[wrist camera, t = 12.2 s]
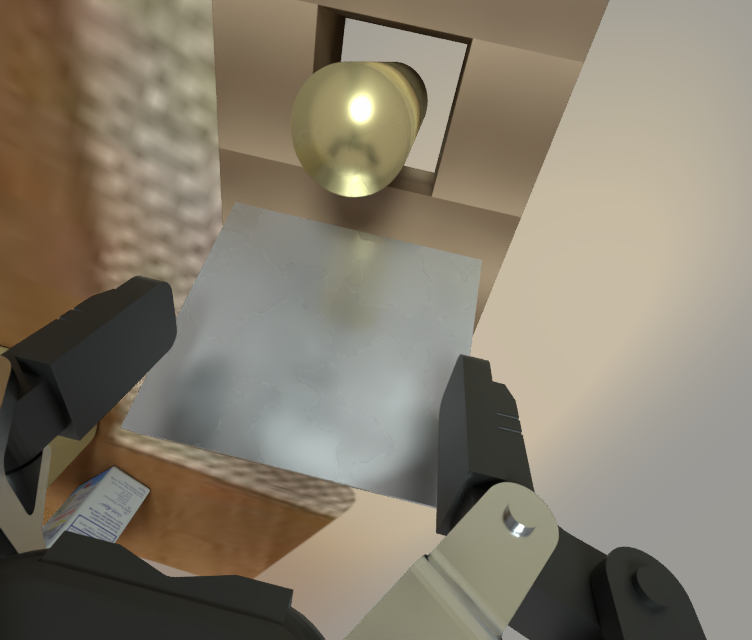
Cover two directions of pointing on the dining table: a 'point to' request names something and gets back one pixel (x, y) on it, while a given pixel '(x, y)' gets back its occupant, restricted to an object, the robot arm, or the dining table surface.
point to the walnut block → (464, 128)
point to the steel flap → (315, 353)
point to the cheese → (63, 449)
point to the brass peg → (357, 124)
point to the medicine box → (98, 507)
